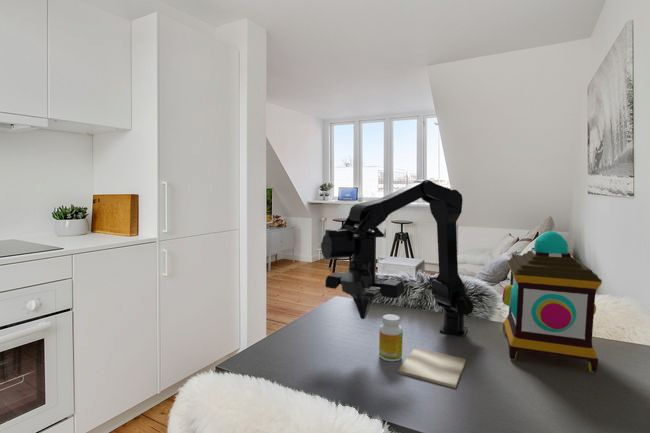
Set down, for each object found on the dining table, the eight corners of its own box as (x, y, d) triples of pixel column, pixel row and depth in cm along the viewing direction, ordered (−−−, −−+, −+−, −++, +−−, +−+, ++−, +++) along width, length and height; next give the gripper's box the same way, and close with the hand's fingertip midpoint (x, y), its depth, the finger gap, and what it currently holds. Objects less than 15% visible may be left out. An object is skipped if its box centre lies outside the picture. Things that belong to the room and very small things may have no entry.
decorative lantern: (607, 379, 79) (617, 239, 76) (503, 362, 86) (510, 233, 83) (580, 342, 97) (587, 228, 95) (497, 331, 104) (502, 225, 102)
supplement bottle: (401, 363, 85) (403, 322, 84) (378, 360, 86) (379, 320, 85) (401, 352, 90) (402, 314, 89) (379, 350, 91) (380, 312, 91)
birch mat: (414, 350, 92) (414, 347, 92) (465, 361, 86) (465, 359, 86) (397, 372, 81) (397, 370, 81) (455, 388, 75) (455, 385, 75)
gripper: (313, 257, 87) (313, 322, 89) (389, 266, 78) (388, 338, 80) (335, 250, 97) (335, 308, 98) (405, 257, 88) (404, 321, 89)
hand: (363, 318), depth 91 cm, fingers closed
